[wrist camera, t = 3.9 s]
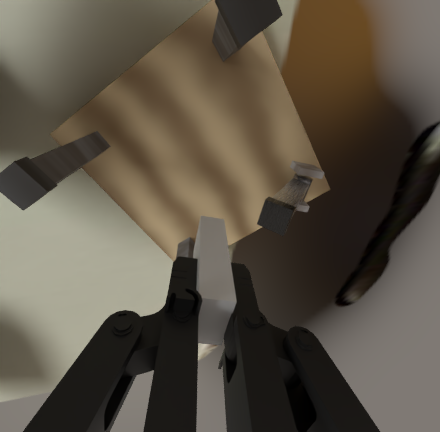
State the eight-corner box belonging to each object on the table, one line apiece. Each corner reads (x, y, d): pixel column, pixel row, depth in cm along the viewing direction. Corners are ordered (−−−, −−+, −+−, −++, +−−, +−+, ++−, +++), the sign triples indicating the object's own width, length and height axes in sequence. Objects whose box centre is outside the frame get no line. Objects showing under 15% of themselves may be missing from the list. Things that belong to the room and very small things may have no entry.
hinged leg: (295, 171, 30) (314, 178, 29) (288, 190, 31) (306, 197, 30) (265, 198, 19) (293, 209, 18) (256, 225, 20) (282, 236, 20)
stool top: (184, 258, 39) (174, 356, 25) (63, 129, 28) (-73, 172, 14) (320, 181, 34) (404, 249, 20) (234, -11, 23) (284, -157, 9)
